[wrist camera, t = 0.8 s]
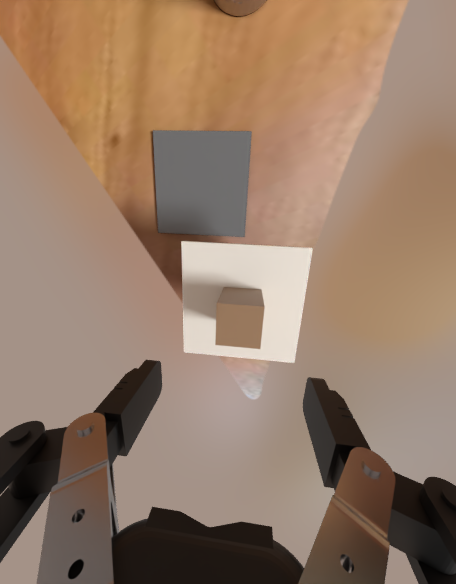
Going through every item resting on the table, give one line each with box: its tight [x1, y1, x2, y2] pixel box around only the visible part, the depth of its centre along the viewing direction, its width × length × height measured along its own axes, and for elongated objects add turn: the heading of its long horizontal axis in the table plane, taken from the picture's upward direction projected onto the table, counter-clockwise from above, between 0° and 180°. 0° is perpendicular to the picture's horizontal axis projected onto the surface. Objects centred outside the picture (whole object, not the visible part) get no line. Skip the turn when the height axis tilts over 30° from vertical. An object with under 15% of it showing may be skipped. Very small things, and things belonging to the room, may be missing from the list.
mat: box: [153, 131, 252, 237], centre depth 34 cm, size 15×15×1 cm
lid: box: [181, 241, 313, 363], centre depth 21 cm, size 13×13×6 cm
